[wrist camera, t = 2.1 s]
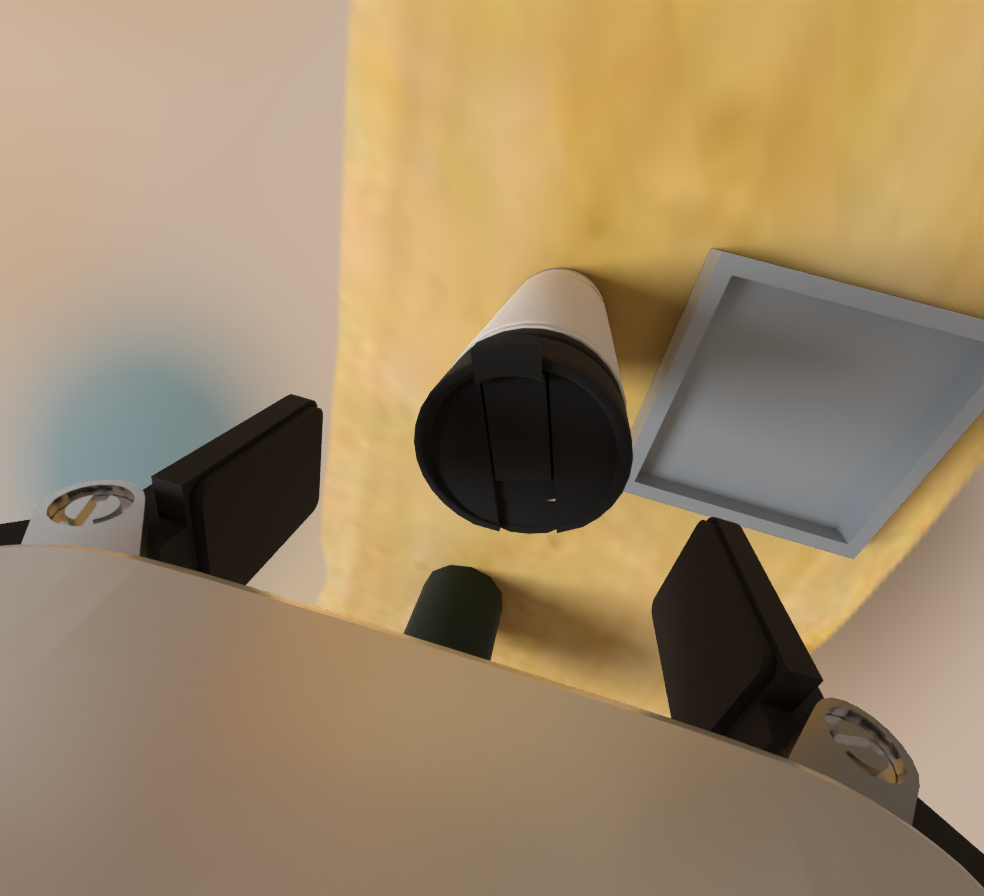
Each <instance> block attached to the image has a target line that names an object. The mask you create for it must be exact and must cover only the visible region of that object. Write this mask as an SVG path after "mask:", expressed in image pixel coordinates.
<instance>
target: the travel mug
mask: <svg viewBox="0 0 984 896" xmlns="http://www.w3.org/2000/svg"><path fill="white" fill-rule="evenodd" d="M414 445H415V451H416V458H417V461H418V464H419V466H420V469H421V472H422V474H423V476H424V478H425V480H426V481H427V483H428V484H429V486H430V488H431V489H432V491H433V492H434V493H435V494H436V495H437V496H438V497H439V498H440V500H441V501H442V502H443V503H444V504H445V505H446V506H448V507H449V508H450V509H451V510H453V511H454V512H455V513H456V514H458V515H459V516H461V517H463V518H464V519H466V520H468V521H470V522H471V523H473V524H475V525H479V526H482V527H486V528H489V529H493V530H496V531H499V530H500V527H501V528H503V529H506V530H508V531H510V532H518V533H528V534H531V533H548V532H551V531H553V530H556V529H557V533H559V532H564V531H568V530H572V529H576V528H581V527H584V526H585V525H587V524H589V523H591V522H592V521H594V520H596V519H598V518H599V517H600V516H601V515H602V514H604V513H605V512H606V511H607V510H608V509H609V508H611V507H612V506H613V504H614V503H615V502H616V500H617V499H618V498H619V496H620V495H621V494H622V492H623V490H624V488H625V486H626V484H627V481H628V479H629V477H630V473H631V468H632V462H633V447H632V437H631V432H630V427H629V423H628V418H627V410H626V399H625V395H624V390H623V385H622V381H621V376H620V372H619V367H618V363H617V358H616V353H615V349H614V344H613V340H612V335H611V331H610V326H609V322H608V317H607V312H606V308H605V304H604V301H603V297H602V295H601V293H600V291H599V290H598V288H597V287H596V285H595V284H594V283H593V282H592V281H591V280H590V279H589V278H587V277H586V276H585V275H584V274H582V273H579V272H577V271H575V270H571V269H567V268H552V269H547V270H544V271H541V272H539V273H537V274H535V275H533V276H532V277H530V278H529V279H528V280H527V281H526V282H525V283H524V284H523V285H522V286H521V287H520V288H519V289H518V290H517V291H516V292H515V294H514V295H513V296H512V297H511V298H510V299H509V300H508V302H507V303H506V304H505V305H504V306H503V307H502V308H501V309H500V311H499V312H498V313H497V314H496V315H495V316H494V317H493V319H492V320H491V321H490V322H489V323H488V324H487V325H486V326H485V328H484V329H483V330H482V331H481V332H480V333H479V334H478V336H477V337H476V338H475V339H474V340H473V341H472V342H471V343H470V345H469V346H468V347H467V348H466V349H465V350H464V351H463V353H462V354H461V355H460V356H459V357H458V358H457V359H456V361H455V363H454V364H453V366H452V367H451V369H450V370H449V371H448V372H447V374H446V375H445V376H444V377H443V378H442V379H441V381H440V382H439V383H438V384H437V385H436V386H435V388H434V389H433V390H432V391H431V392H430V394H429V395H428V397H427V399H426V400H425V402H424V404H423V405H422V407H421V409H420V412H419V415H418V418H417V421H416V424H415V437H414Z"/></svg>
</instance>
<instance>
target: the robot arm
mask: <svg viewBox="0 0 984 896" xmlns="http://www.w3.org/2000/svg"><path fill="white" fill-rule="evenodd" d="M322 423H323V412H322V410H321V409H320V408H317V404H316V402H315V401H313V400H310V399H306V398H303V397H300V396H296V395H292V394H290V395H288V396H286V397H284V398H283V399H281V400H279V401H277V402H276V403H274V404H272V405H271V406H269V407H267V408H266V409H264V410H262V411H261V412H259V413H257V414H256V415H254V416H252V417H251V418H249V419H247V420H246V421H244V422H242V423H240V424H239V425H237V426H235V427H234V428H232V429H230V430H229V431H227V432H225V433H224V434H222V435H220V436H219V437H217V438H215V439H214V440H212V441H210V442H208V443H207V444H205V445H203V446H202V447H200V448H198V449H197V450H195V451H194V452H192V453H190V454H188V455H187V456H185V457H183V458H182V459H180V460H178V461H176V462H175V463H173V464H171V465H170V466H168V467H167V468H165V469H163V470H161V471H160V472H158V473H156V474H155V475H153V476H151V477H152V483H153V484H152V485H150V486H148V487H147V488H145V489H143V490H142V489H141V488H139V487H138V486H137V485H134V484H132V483H129V482H126V481H119V480H95V481H89V482H82V483H79V484H75V485H72V486H68V487H65V488H63V489H61V490H58V491H56V492H54V493H52V494H50V495H49V496H47V497H46V498H45V499H43V500H42V501H41V502H40V503H39V504H38V506H37V507H36V508H35V510H34V512H33V514H32V517H31V520H24V521H18V522H11V523H5V524H0V896H984V854H983V853H982V852H980V851H979V850H978V849H977V848H976V847H974V846H973V845H972V844H971V843H970V842H969V841H968V840H967V839H965V838H964V837H963V836H962V835H961V834H960V833H958V832H957V831H956V830H955V829H954V828H953V827H951V826H950V825H949V824H948V823H947V822H946V821H945V820H944V819H942V818H941V817H940V816H939V815H938V814H937V813H935V812H934V811H933V810H932V809H931V808H930V807H928V806H927V805H926V804H925V803H924V802H923V801H922V800H920V799H919V798H918V792H919V787H920V785H919V774H918V772H917V770H916V767H915V765H914V763H913V760H912V759H911V757H910V756H909V754H908V753H907V751H906V750H905V749H904V747H903V746H902V744H901V743H900V742H899V741H898V740H897V739H896V738H895V737H894V736H893V734H892V733H891V732H890V731H889V730H888V729H887V728H885V727H884V726H883V725H882V724H881V723H879V722H878V721H877V720H876V719H875V718H874V717H872V716H871V715H869V714H868V713H866V712H865V711H863V710H862V709H860V708H859V707H857V706H855V705H853V704H850V703H848V702H846V701H844V700H840V699H836V698H824V697H823V695H822V693H821V691H820V690H819V688H818V686H819V685H820V684H821V682H822V681H823V679H822V677H821V675H820V674H819V671H818V670H817V668H816V666H815V664H814V662H813V660H812V658H811V656H810V655H809V653H808V651H807V649H806V647H805V645H804V643H803V642H802V640H801V638H800V636H799V634H798V632H797V630H796V629H795V627H794V625H793V623H792V621H791V619H790V617H789V615H788V614H787V612H786V610H785V608H784V606H783V604H782V602H781V601H780V599H779V597H778V595H777V593H776V591H775V589H774V588H773V586H772V584H771V582H770V580H769V578H768V576H767V574H766V573H765V571H764V569H763V567H762V565H761V563H760V561H759V560H758V558H757V556H756V554H755V552H754V550H753V548H752V546H751V545H750V543H749V541H748V539H747V537H746V535H745V533H744V532H743V530H742V528H741V526H740V525H739V524H737V523H734V522H730V521H727V520H723V519H720V518H716V517H710V518H709V519H708V520H707V521H705V520H701V521H700V522H699V523H698V524H697V526H696V527H695V529H694V531H693V533H692V534H691V536H690V538H689V540H688V541H687V543H686V545H685V546H684V548H683V550H682V552H681V553H680V555H679V557H678V558H677V560H676V562H675V564H674V565H673V567H672V569H671V571H670V572H669V574H668V576H667V577H666V579H665V581H664V583H663V584H662V586H661V588H660V589H659V591H658V593H657V595H656V596H655V598H654V600H653V604H652V618H653V623H654V628H655V634H656V639H657V644H658V650H659V655H660V660H661V665H662V671H663V676H664V681H665V687H666V692H667V697H668V703H669V708H670V713H671V718H672V719H671V718H668V717H665V716H662V715H659V714H656V713H653V712H649V711H646V710H643V709H640V708H637V707H634V706H631V705H628V704H624V703H621V702H618V701H615V700H612V699H609V698H606V697H602V696H599V695H596V694H593V693H590V692H587V691H584V690H580V689H577V688H574V687H571V686H568V685H565V684H562V683H558V682H555V681H552V680H549V679H546V678H543V677H540V676H537V675H533V674H530V673H527V672H524V671H521V670H517V669H514V668H511V667H508V666H505V665H502V664H498V663H495V662H492V661H489V660H486V659H482V658H479V657H476V656H473V655H470V654H466V653H463V652H460V651H457V650H454V649H450V648H447V647H444V646H441V645H438V644H434V643H431V642H428V641H425V640H422V639H418V638H415V637H412V636H409V635H406V634H402V633H399V632H396V631H393V630H389V629H386V628H383V627H380V626H377V625H373V624H370V623H367V622H364V621H360V620H357V619H354V618H350V617H347V616H344V615H341V614H337V613H334V612H331V611H328V610H324V609H321V608H318V607H315V606H311V605H308V604H305V603H302V602H298V601H295V600H291V599H288V598H285V597H282V596H278V595H275V594H272V593H269V592H266V591H262V590H259V589H256V588H252V587H249V586H246V584H247V583H248V582H249V581H250V580H251V579H252V578H253V577H254V575H255V574H256V573H257V572H258V571H259V570H260V569H261V568H262V567H263V566H264V564H266V562H267V561H268V560H269V559H270V558H271V557H272V556H273V555H274V553H276V551H277V550H278V549H279V548H280V547H281V546H282V545H283V544H284V543H285V542H286V541H287V540H288V538H289V537H290V536H291V535H292V534H293V533H294V532H295V531H296V529H298V528H299V526H300V525H301V524H302V523H303V522H304V521H305V520H306V519H307V518H308V516H310V514H311V513H312V512H313V511H314V510H315V508H316V506H317V503H318V500H319V487H320V466H321V464H320V463H321V444H322Z"/></svg>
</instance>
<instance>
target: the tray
mask: <svg viewBox="0 0 984 896" xmlns="http://www.w3.org/2000/svg"><path fill="white" fill-rule="evenodd" d="M983 410H984V319H980V318H976V317H972V316H968V315H965V314H961V313H957V312H953V311H949V310H946V309H942V308H938V307H934V306H930V305H927V304H923V303H919V302H915V301H911V300H907V299H904V298H900V297H896V296H892V295H888V294H885V293H881V292H877V291H873V290H869V289H866V288H862V287H858V286H854V285H850V284H846V283H843V282H839V281H835V280H831V279H827V278H824V277H820V276H816V275H812V274H808V273H804V272H801V271H797V270H793V269H789V268H785V267H782V266H778V265H774V264H770V263H766V262H763V261H759V260H755V259H751V258H747V257H743V256H740V255H736V254H732V253H728V252H724V251H721V250H717V249H713V248H711V249H710V251H709V253H708V256H707V258H706V260H705V263H704V265H703V267H702V270H701V272H700V274H699V276H698V279H697V281H696V283H695V286H694V288H693V290H692V292H691V295H690V297H689V299H688V302H687V304H686V306H685V308H684V311H683V313H682V315H681V318H680V320H679V322H678V324H677V327H676V329H675V331H674V334H673V336H672V338H671V341H670V343H669V345H668V347H667V350H666V352H665V354H664V357H663V359H662V361H661V363H660V366H659V368H658V370H657V373H656V375H655V377H654V379H653V382H652V384H651V386H650V389H649V391H648V393H647V395H646V398H645V400H644V402H643V405H642V407H641V409H640V412H639V414H638V416H637V418H636V421H635V423H634V425H633V428H632V430H631V437H632V447H633V462H632V468H631V473H630V477H629V479H628V481H627V484H626V486H625V488H624V490H623V491H624V492H627V493H631V494H634V495H637V496H641V497H644V498H648V499H651V500H654V501H658V502H661V503H665V504H668V505H671V506H675V507H678V508H682V509H685V510H688V511H692V512H695V513H698V514H702V515H705V516H709V517H716V518H720V519H723V520H727V521H730V522H734V523H737V524H739V525H740V526H743V527H746V528H749V529H753V530H756V531H760V532H763V533H766V534H770V535H773V536H777V537H780V538H783V539H787V540H790V541H794V542H797V543H800V544H804V545H807V546H811V547H814V548H817V549H821V550H824V551H827V552H831V553H834V554H838V555H841V556H844V557H848V558H851V559H854V558H855V557H856V556H857V555H858V554H859V553H860V551H861V550H862V549H863V548H864V547H865V546H866V545H867V543H868V542H869V541H870V540H871V539H872V538H873V537H874V535H875V534H876V533H877V532H878V531H879V530H880V528H881V527H882V526H883V525H884V524H885V523H886V522H887V520H888V519H889V518H890V517H891V516H892V515H893V514H894V512H895V511H896V510H897V509H898V508H899V507H900V505H901V504H902V503H903V502H904V501H905V500H906V499H907V497H908V496H909V495H910V494H911V493H912V492H913V491H914V489H915V488H916V487H917V486H918V485H919V484H920V483H921V481H922V480H923V479H924V478H925V477H926V476H927V474H928V473H929V472H930V471H931V470H932V469H933V468H934V466H935V465H936V464H937V463H938V462H939V461H940V460H941V458H942V457H943V456H944V455H945V454H946V453H947V451H948V450H949V449H950V448H951V447H952V446H953V445H954V443H955V442H956V441H957V440H958V439H959V438H960V437H961V435H962V434H963V433H964V432H965V431H966V430H967V429H968V427H969V426H970V425H971V424H972V423H973V422H974V420H975V419H976V418H977V417H978V416H979V415H980V414H981V412H982V411H983Z"/></svg>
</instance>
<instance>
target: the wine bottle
mask: <svg viewBox="0 0 984 896" xmlns="http://www.w3.org/2000/svg"><path fill="white" fill-rule="evenodd" d="M501 610H502V596H501V592H500V590H499V589H498V588H497V586H496V585H495V583H494V582H493V581H492V579H491V578H490V577H488V576H486V575H484V574H482V573H481V572H479V571H477V570H475V569H473V568H471V567H463V566H453V565H449V566H446V567H443V568H441V569H438V570H435V571H433V572H432V573H431V575H430V577H429V578H428V580H427V581H426V583H425V584H424V587H423V589H422V591H421V594H420V596H419V598H418V601H417V603H416V606H415V608H414V610H413V613H412V615H411V617H410V620H409V622H408V625H407V627H406V629H405V632H404V634H406V635H409V636H412V637H415V638H418V639H422V640H425V641H428V642H431V643H434V644H438V645H441V646H444V647H447V648H450V649H454V650H457V651H460V652H463V653H466V654H470V655H473V656H476V657H479V658H482V659H486V660H489V661H490V660H491V656H492V651H493V647H494V642H495V637H496V633H497V628H498V624H499V619H500V615H501Z"/></svg>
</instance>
